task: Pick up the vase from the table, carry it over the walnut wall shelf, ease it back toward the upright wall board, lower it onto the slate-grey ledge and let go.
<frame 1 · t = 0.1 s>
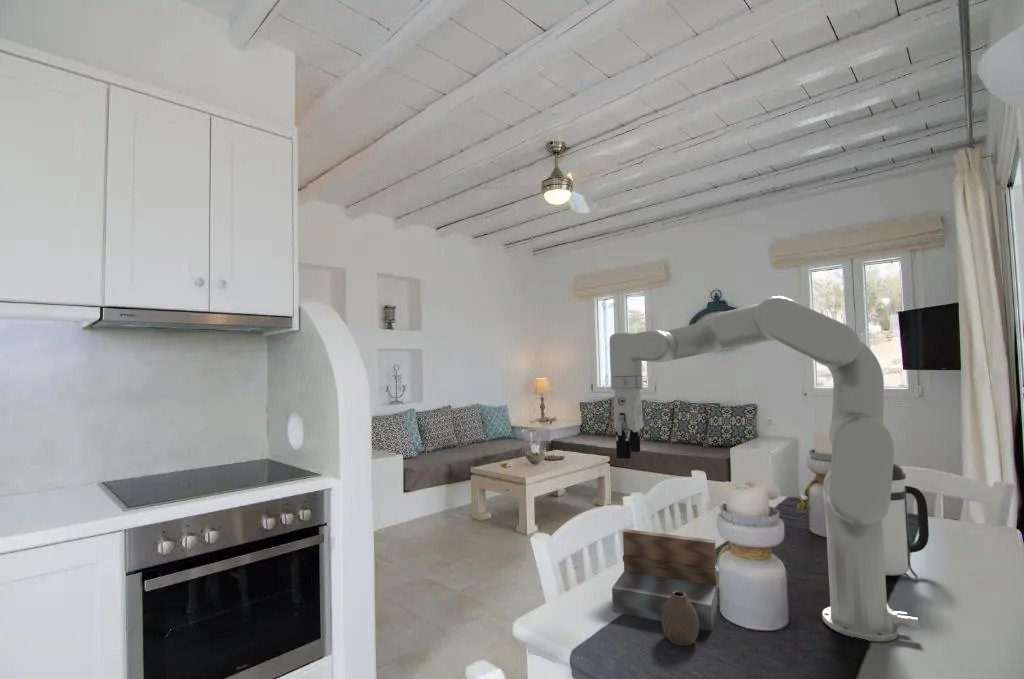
hand: (628, 454, 124), 31 cm above the table, tool pointing down, fingers open, 9 cm apart
vase: (680, 641, 99), on the table
wall shelf: (672, 593, 119), on the table
coffee press: (883, 573, 128), on the table
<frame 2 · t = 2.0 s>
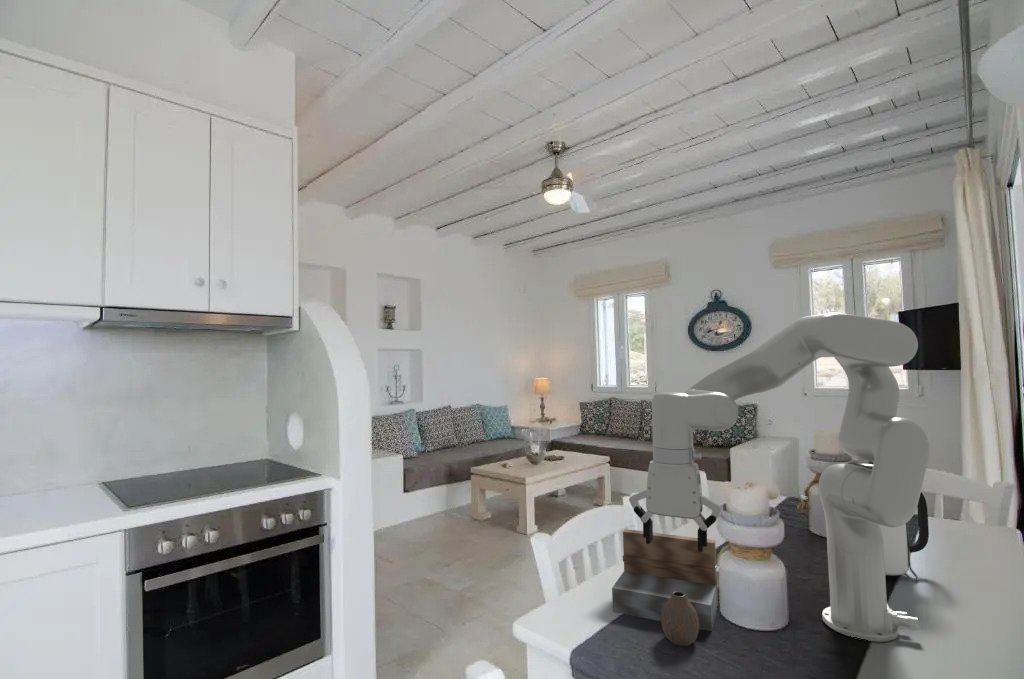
hand: (674, 545, 100), 18 cm above the table, tool pointing down, fingers open, 9 cm apart
nothing on the table moved.
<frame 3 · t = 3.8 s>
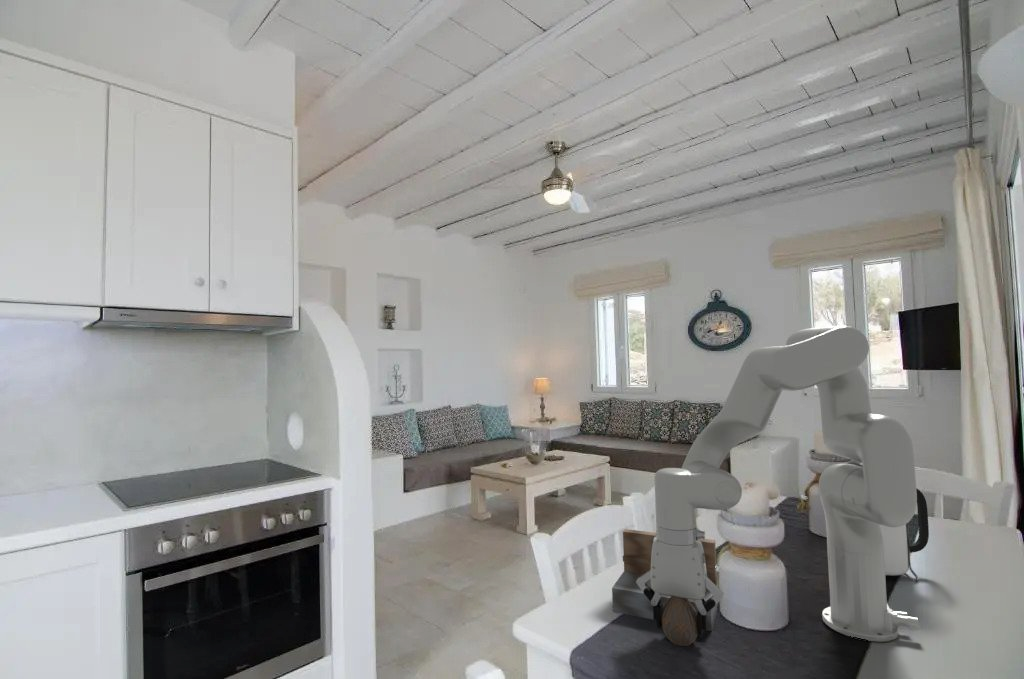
hand: (680, 628, 99), 2 cm above the table, tool pointing down, fingers closed on vase, 7 cm apart
vase: (680, 641, 99), on the table, touching gripper
everything else where it was.
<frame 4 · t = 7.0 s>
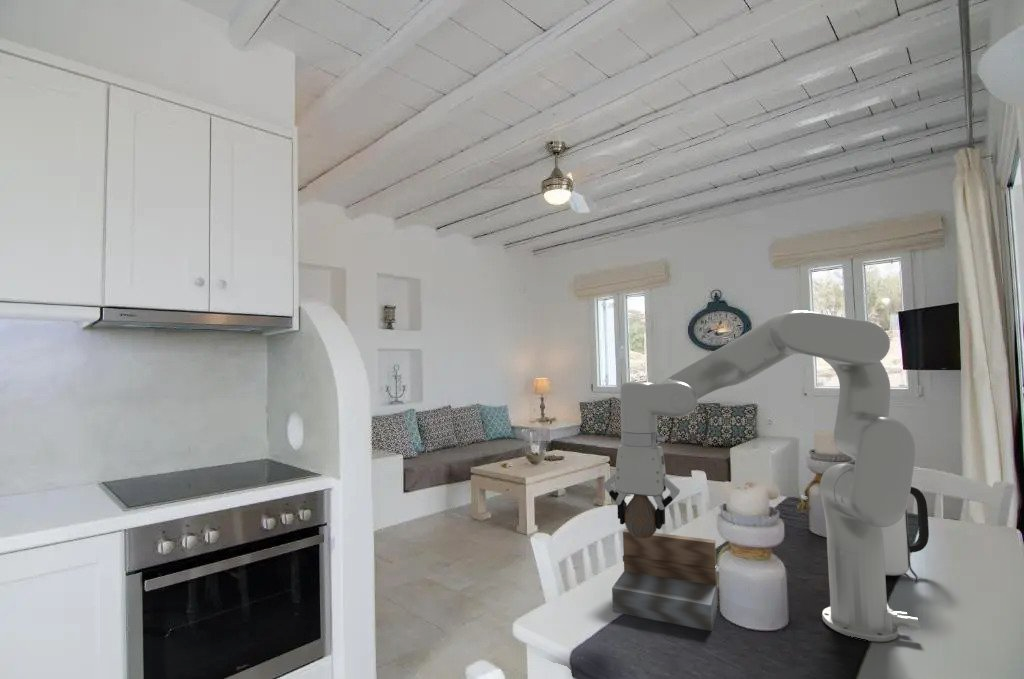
hand: (641, 524, 109), 19 cm above the table, tool pointing down, fingers closed on vase, 7 cm apart
vase: (641, 536, 109), point 17 cm above the table, touching gripper
everything else where it was.
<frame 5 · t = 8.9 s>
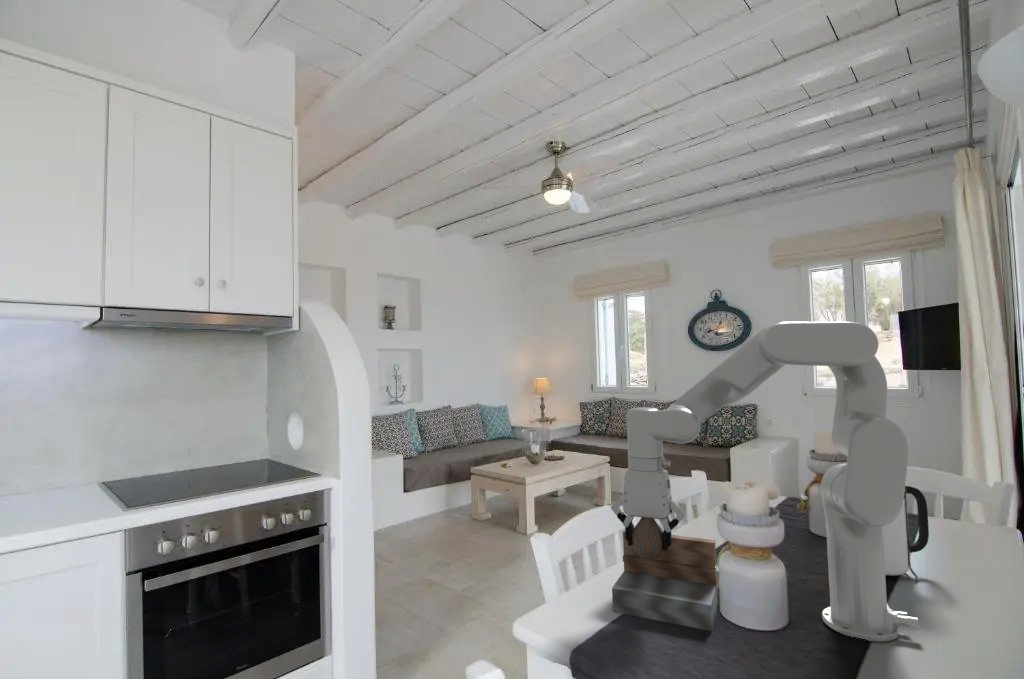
hand: (648, 545, 113), 13 cm above the table, tool pointing down, fingers closed on vase, 7 cm apart
vase: (648, 557, 113), point 11 cm above the table, touching gripper
everything else where it was.
when the fingers open (8 cm above the table, at t = 10.4 s): vase stays where it is, resting on wall shelf.
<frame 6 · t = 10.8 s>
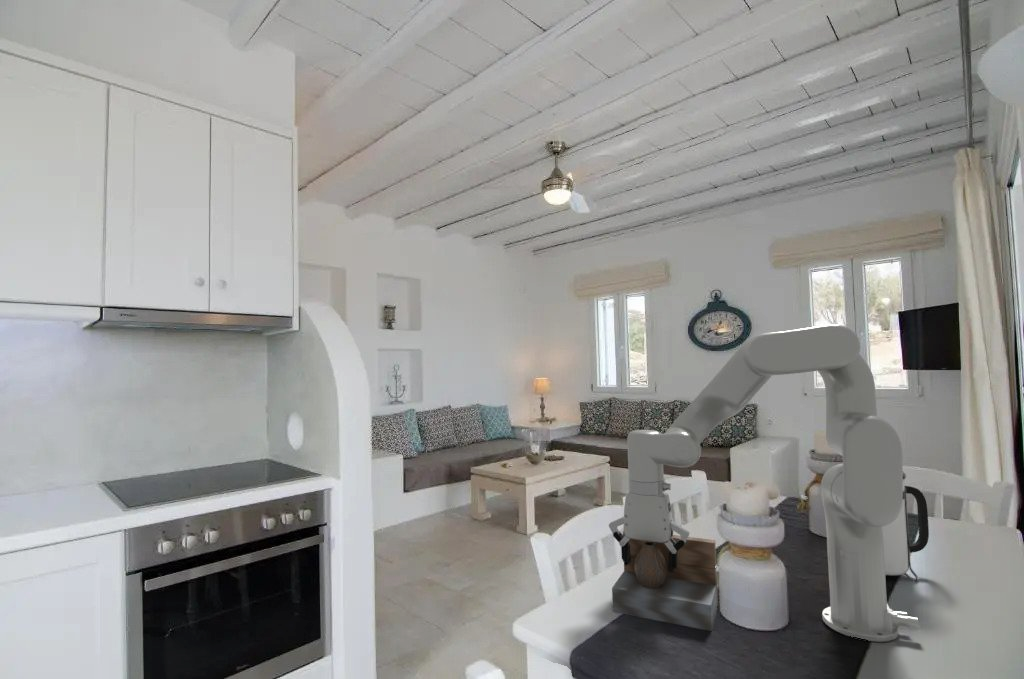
hand: (649, 566, 113), 9 cm above the table, tool pointing down, fingers open, 9 cm apart
vase: (651, 585, 112), point 5 cm above the table, touching wall shelf
everything else where it was.
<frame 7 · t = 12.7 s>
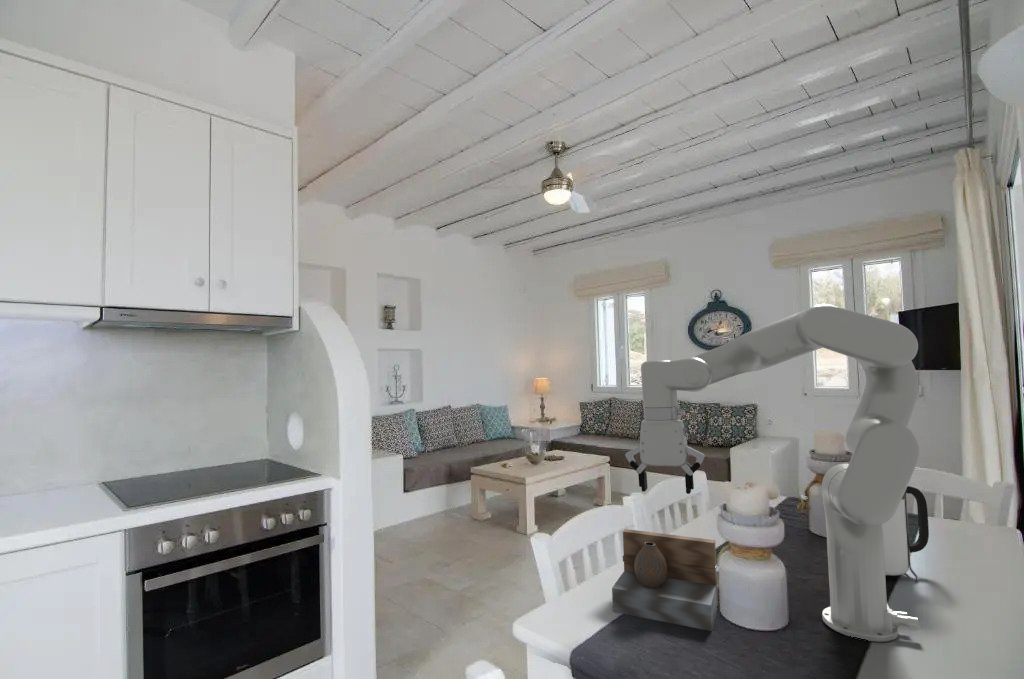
hand: (666, 491, 116), 24 cm above the table, tool pointing down, fingers open, 9 cm apart
nothing on the table moved.
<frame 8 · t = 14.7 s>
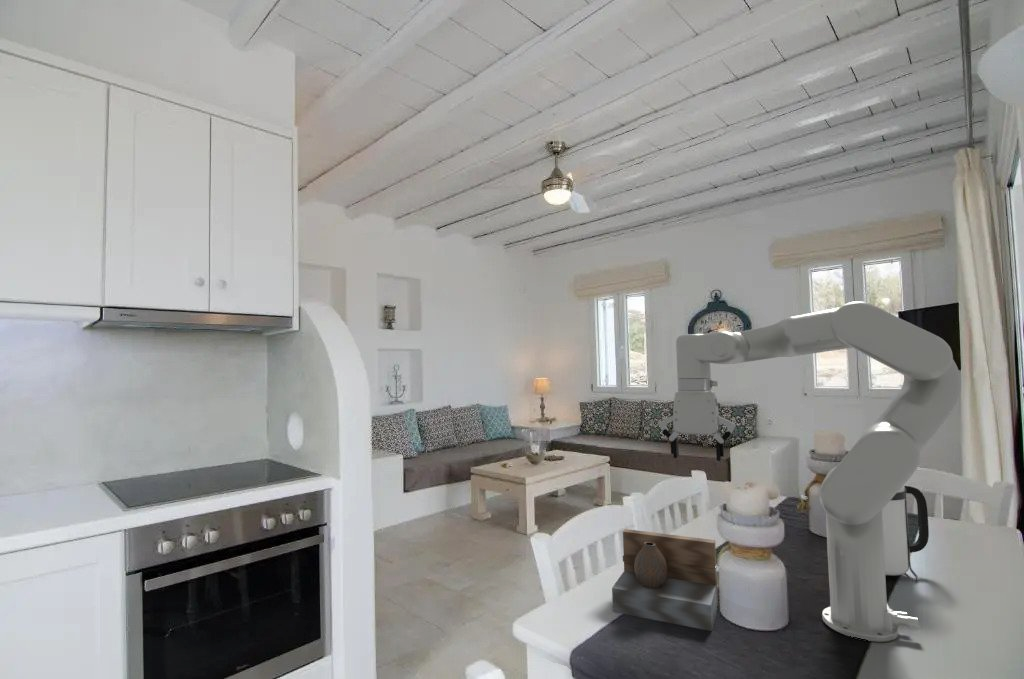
hand: (697, 458, 122), 30 cm above the table, tool pointing down, fingers open, 9 cm apart
nothing on the table moved.
at the end: vase inside the target area on the wall shelf (2.3 cm from its centre), point 4.8 cm above the wall shelf's base; vase tilted 0°; the gripper is holding nothing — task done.
